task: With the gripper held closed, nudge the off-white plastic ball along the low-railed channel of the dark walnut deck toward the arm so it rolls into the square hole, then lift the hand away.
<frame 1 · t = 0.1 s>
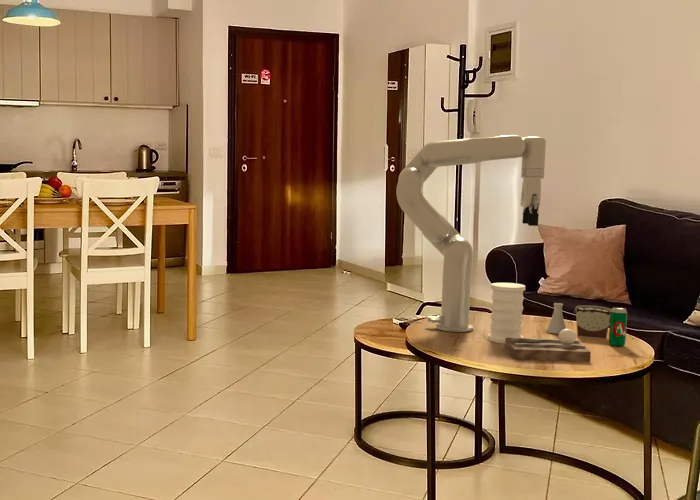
hand: (530, 224, 272), 37 cm above the table, tool pointing down, fingers open, 9 cm apart
flask: (556, 333, 275), on the table
food container: (592, 336, 271), on the table
decorative container: (505, 340, 261), on the table
soda can: (616, 346, 257), on the table
ball: (567, 336, 241), point 5 cm above the table, touching deck
deck: (546, 354, 242), on the table
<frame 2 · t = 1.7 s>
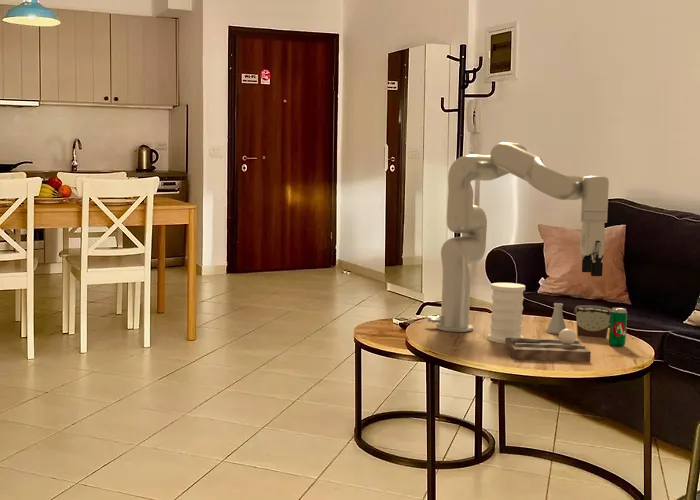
hand: (591, 274, 242), 24 cm above the table, tool pointing down, fingers open, 9 cm apart
nothing on the table moved.
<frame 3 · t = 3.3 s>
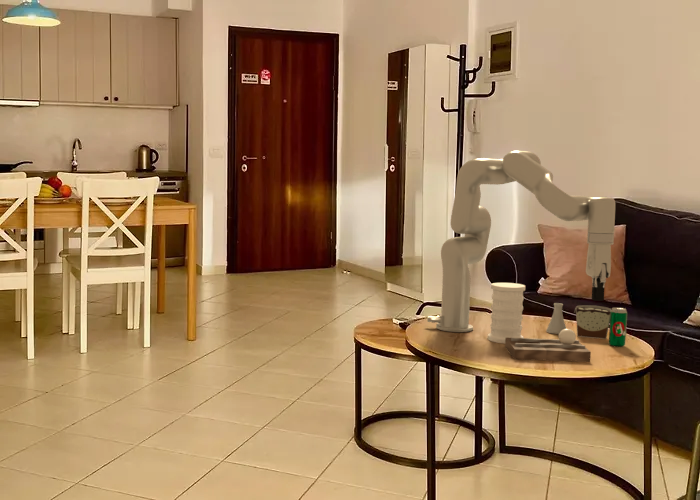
hand: (597, 300, 240), 17 cm above the table, tool pointing down, fingers closed
nothing on the table moved.
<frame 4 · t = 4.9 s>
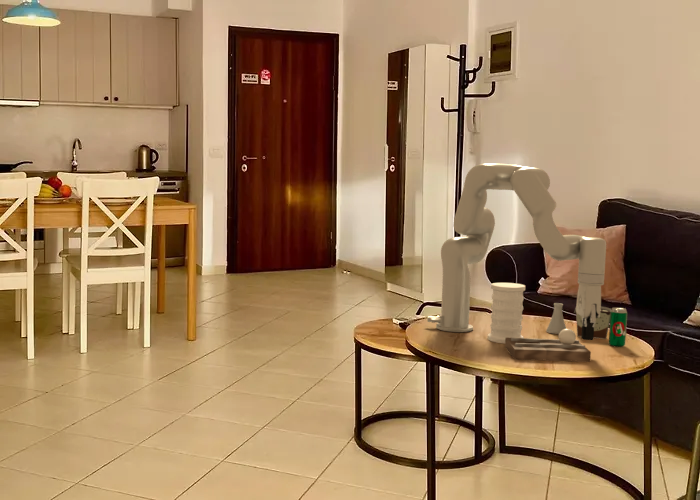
hand: (587, 339, 241), 5 cm above the table, tool pointing down, fingers closed
nothing on the table moved.
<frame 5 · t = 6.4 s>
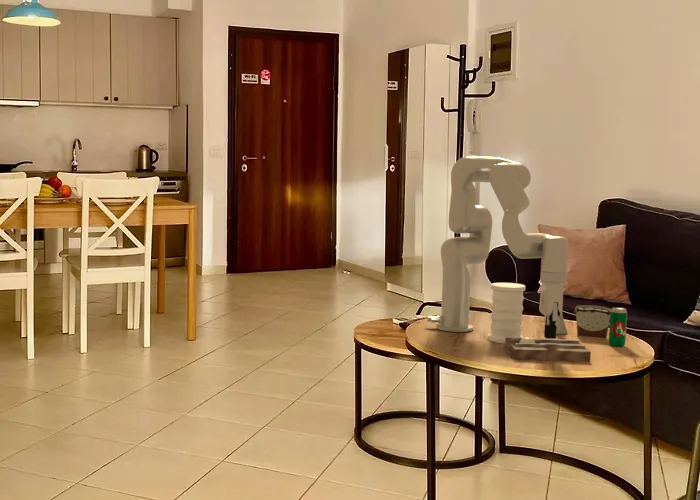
hand: (549, 337, 241), 5 cm above the table, tool pointing down, fingers closed
ball: (527, 345, 242), point 2 cm above the table, tilted 61°
everything else where it was.
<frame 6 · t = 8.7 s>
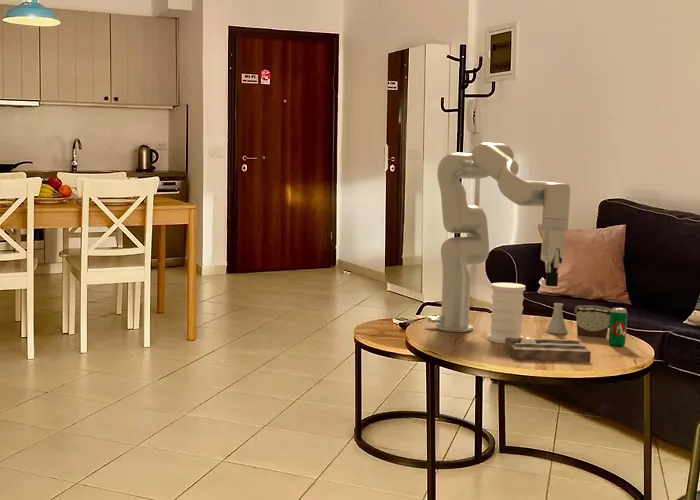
hand: (551, 285, 240), 21 cm above the table, tool pointing down, fingers closed
ball: (528, 345, 242), point 2 cm above the table, tilted 66°
everything else where it was.
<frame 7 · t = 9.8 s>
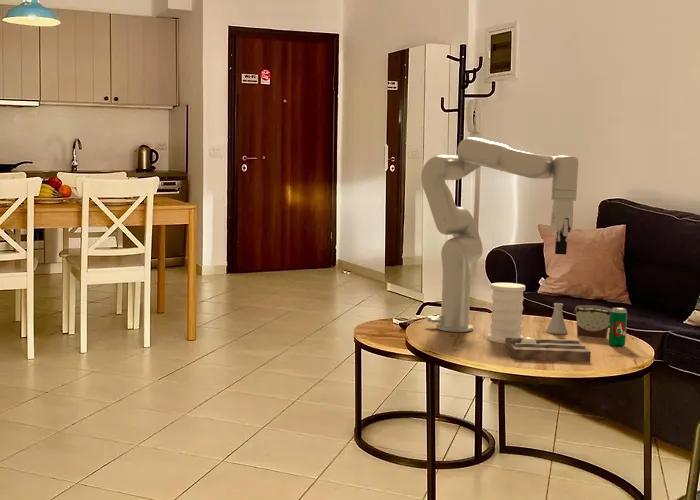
hand: (560, 253, 253), 29 cm above the table, tool pointing down, fingers closed
nothing on the table moved.
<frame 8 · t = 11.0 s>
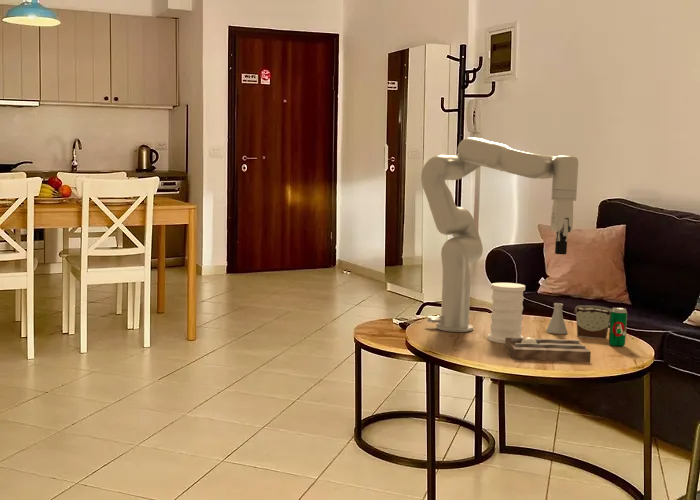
hand: (560, 253, 253), 29 cm above the table, tool pointing down, fingers closed
nothing on the table moved.
at the end: ball 0.3 cm from the target spot on the deck, point 2.5 cm above the deck's base; ball moved 11.7 cm from its start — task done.
